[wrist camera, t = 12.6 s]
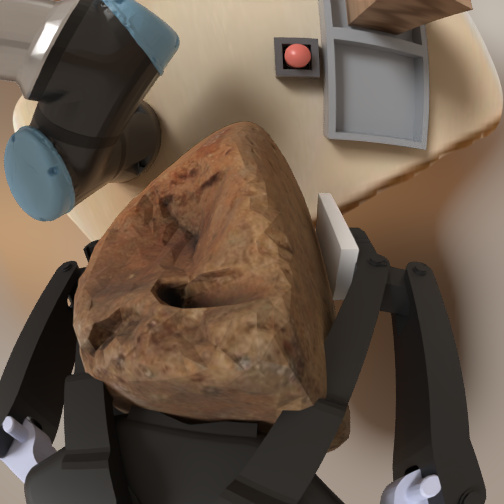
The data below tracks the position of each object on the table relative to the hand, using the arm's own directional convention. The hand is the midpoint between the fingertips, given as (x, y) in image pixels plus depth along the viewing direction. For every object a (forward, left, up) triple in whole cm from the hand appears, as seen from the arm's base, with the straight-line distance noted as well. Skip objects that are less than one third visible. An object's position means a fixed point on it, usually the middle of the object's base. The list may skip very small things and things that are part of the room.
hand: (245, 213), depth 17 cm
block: (0, 0, -7) cm, 7 cm away
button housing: (+5, +14, -26) cm, 30 cm away
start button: (+5, +14, -25) cm, 29 cm away
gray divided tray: (+17, +18, -26) cm, 36 cm away
